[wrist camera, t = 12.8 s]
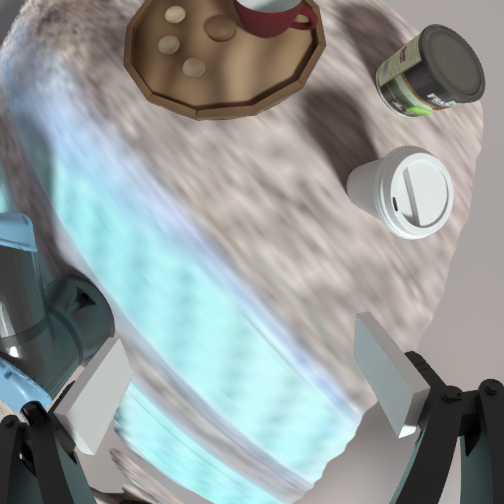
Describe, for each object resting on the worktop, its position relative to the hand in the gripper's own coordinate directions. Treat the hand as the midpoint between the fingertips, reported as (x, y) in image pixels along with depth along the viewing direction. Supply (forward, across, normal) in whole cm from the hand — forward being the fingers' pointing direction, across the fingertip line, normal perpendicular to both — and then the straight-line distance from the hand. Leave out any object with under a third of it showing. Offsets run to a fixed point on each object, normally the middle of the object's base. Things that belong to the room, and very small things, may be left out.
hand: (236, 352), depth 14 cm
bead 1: (+25, -6, +35) cm, 43 cm away
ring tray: (+26, +1, +31) cm, 40 cm away
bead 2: (+25, -7, +30) cm, 39 cm away
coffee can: (+26, +27, +22) cm, 43 cm away
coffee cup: (+26, +18, +6) cm, 32 cm away
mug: (+25, +8, +31) cm, 40 cm away
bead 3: (+25, -3, +25) cm, 35 cm away
